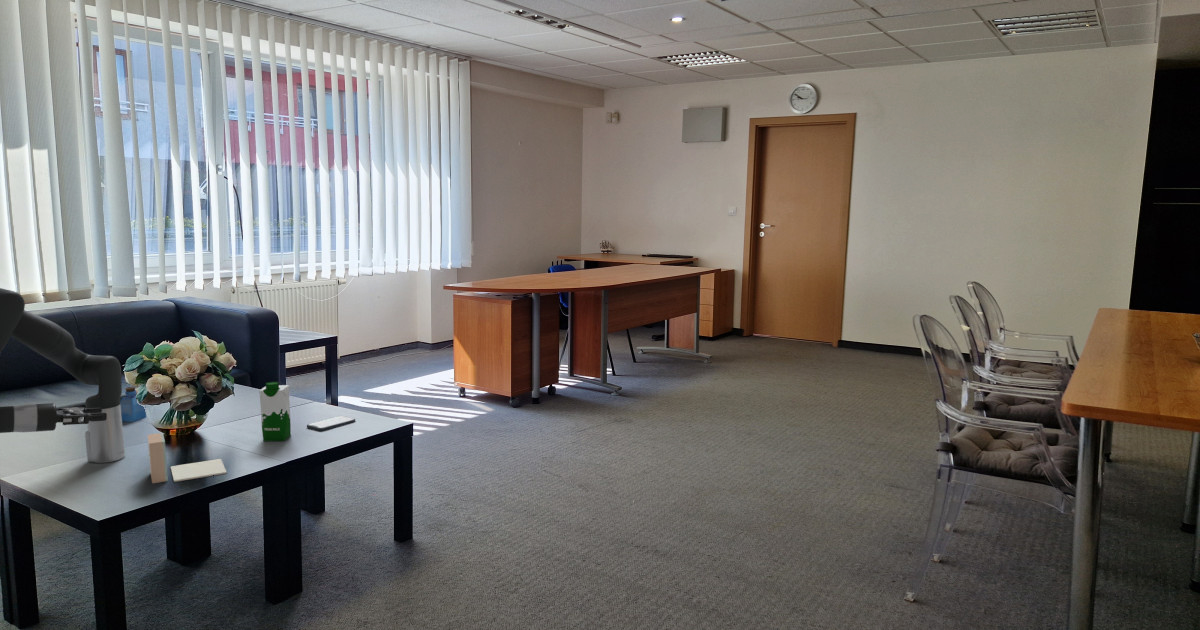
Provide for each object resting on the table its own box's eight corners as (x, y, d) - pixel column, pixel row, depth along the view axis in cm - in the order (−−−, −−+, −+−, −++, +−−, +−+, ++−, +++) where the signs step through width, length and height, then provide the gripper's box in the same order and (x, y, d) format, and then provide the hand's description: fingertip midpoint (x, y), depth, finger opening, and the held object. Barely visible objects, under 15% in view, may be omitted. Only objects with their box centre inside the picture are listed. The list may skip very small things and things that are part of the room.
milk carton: (259, 442, 266) (256, 385, 263) (268, 434, 275) (265, 378, 272) (286, 441, 266) (283, 384, 263) (294, 434, 275) (291, 378, 272)
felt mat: (174, 481, 228) (173, 480, 228) (170, 468, 240) (170, 466, 240) (226, 473, 236) (226, 471, 235) (220, 460, 247) (220, 458, 247)
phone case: (341, 419, 296) (305, 428, 283) (341, 415, 296) (305, 424, 283) (357, 423, 292) (320, 432, 278) (357, 419, 291) (320, 428, 278)
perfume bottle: (146, 417, 295) (143, 386, 293) (134, 421, 289) (131, 390, 287) (131, 416, 296) (128, 385, 294) (119, 421, 290) (116, 389, 288)
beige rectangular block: (152, 483, 227) (149, 443, 225) (150, 473, 235) (147, 434, 234) (167, 480, 229) (164, 441, 227) (165, 470, 237) (162, 432, 236)
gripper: (37, 408, 207) (108, 404, 217) (31, 400, 218) (100, 397, 228) (36, 436, 207) (107, 431, 218) (31, 426, 218) (99, 422, 229)
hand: (103, 414), depth 223 cm, fingers open, 8 cm apart
